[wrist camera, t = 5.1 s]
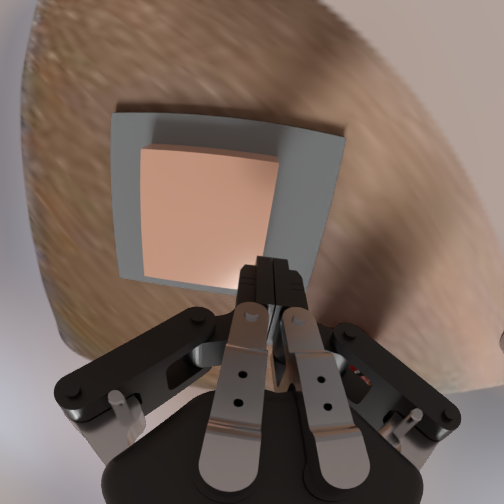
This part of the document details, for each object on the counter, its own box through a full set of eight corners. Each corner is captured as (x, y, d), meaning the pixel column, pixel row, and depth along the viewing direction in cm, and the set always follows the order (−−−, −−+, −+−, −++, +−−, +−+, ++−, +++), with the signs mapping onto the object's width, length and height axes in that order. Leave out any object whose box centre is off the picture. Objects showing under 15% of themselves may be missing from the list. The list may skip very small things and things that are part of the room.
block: (279, 163, 16) (140, 148, 15) (256, 291, 20) (144, 276, 20) (277, 156, 17) (151, 143, 17) (256, 276, 22) (151, 262, 21)
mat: (343, 136, 17) (346, 138, 16) (301, 298, 24) (302, 302, 23) (115, 112, 16) (111, 113, 16) (122, 273, 23) (119, 277, 22)
